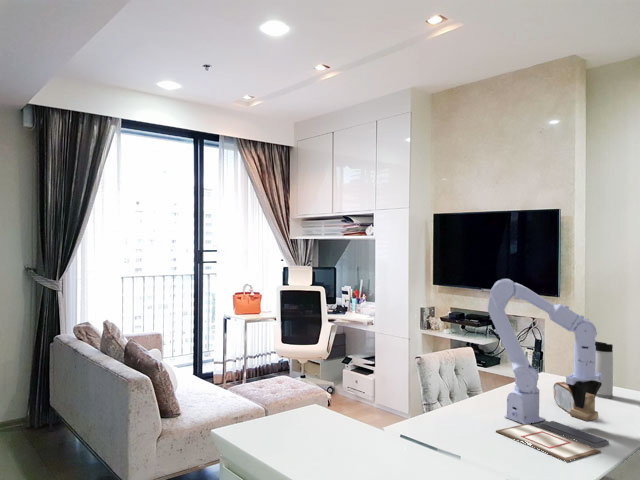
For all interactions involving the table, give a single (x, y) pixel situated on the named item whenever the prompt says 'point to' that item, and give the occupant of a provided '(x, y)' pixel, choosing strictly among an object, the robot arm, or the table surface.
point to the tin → (563, 396)
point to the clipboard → (549, 442)
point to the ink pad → (575, 434)
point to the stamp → (585, 409)
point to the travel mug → (604, 368)
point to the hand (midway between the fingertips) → (584, 406)
